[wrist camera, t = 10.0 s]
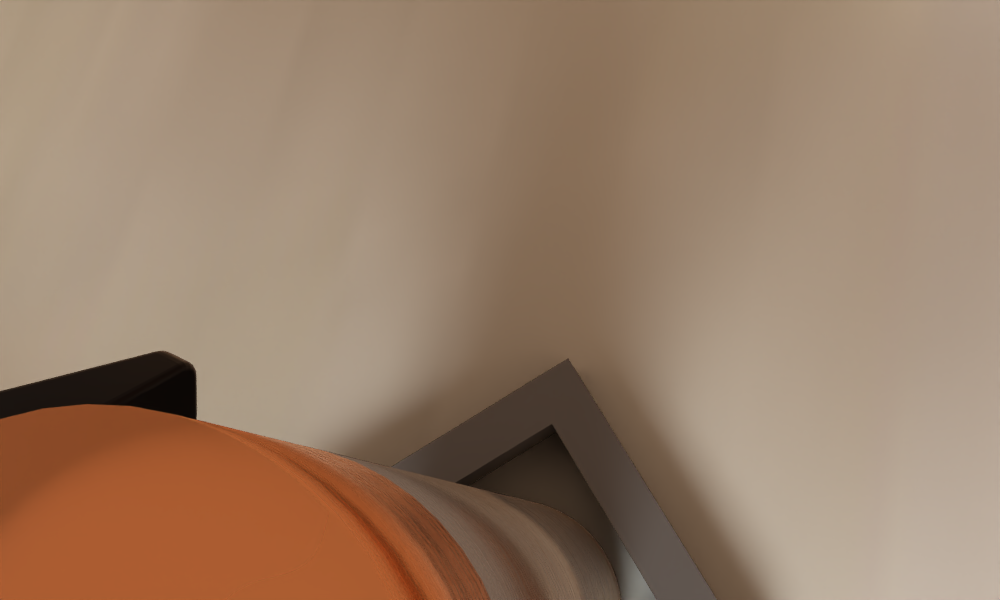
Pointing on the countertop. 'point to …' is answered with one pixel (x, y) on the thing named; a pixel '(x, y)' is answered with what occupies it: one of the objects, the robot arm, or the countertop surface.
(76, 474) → the pin
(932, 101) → the countertop surface
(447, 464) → the pin collar
